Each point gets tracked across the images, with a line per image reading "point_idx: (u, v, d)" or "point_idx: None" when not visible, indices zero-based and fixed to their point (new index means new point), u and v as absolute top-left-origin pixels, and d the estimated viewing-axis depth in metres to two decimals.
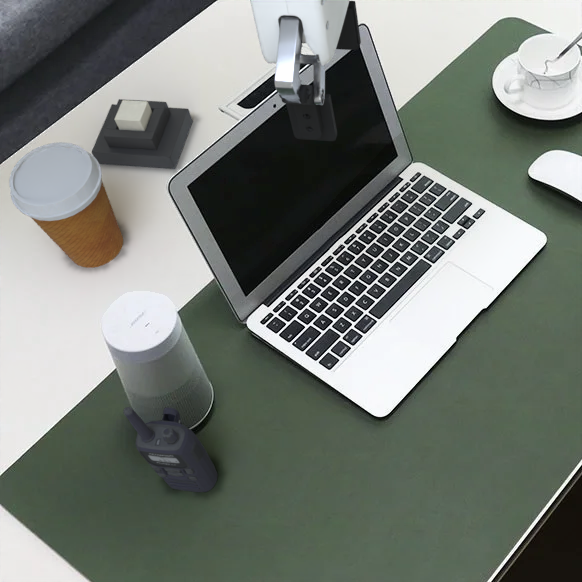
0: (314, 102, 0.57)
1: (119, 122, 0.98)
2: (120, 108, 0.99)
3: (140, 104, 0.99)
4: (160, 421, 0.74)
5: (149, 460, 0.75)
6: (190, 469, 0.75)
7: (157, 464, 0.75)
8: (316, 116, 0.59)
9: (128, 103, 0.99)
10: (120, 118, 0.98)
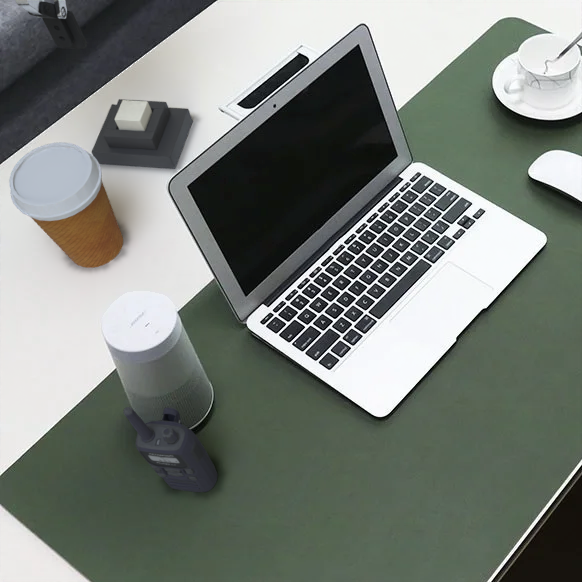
0: (57, 16, 0.80)
1: (119, 122, 0.98)
2: (120, 108, 0.99)
3: (140, 104, 0.99)
4: (160, 421, 0.74)
5: (149, 460, 0.75)
6: (190, 469, 0.75)
7: (157, 464, 0.75)
8: (63, 28, 0.82)
9: (128, 103, 0.99)
10: (120, 118, 0.98)
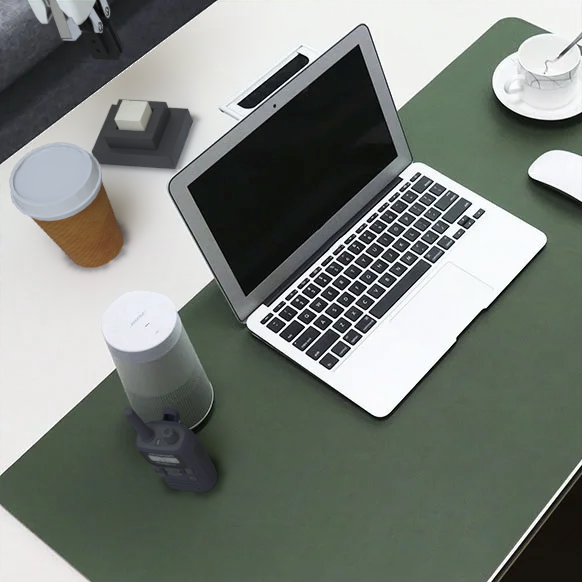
0: (94, 30, 0.87)
1: (119, 122, 0.98)
2: (120, 108, 0.99)
3: (140, 104, 0.99)
4: (160, 421, 0.74)
5: (149, 460, 0.75)
6: (190, 469, 0.75)
7: (157, 464, 0.75)
8: (99, 41, 0.88)
9: (128, 103, 0.99)
10: (120, 118, 0.98)
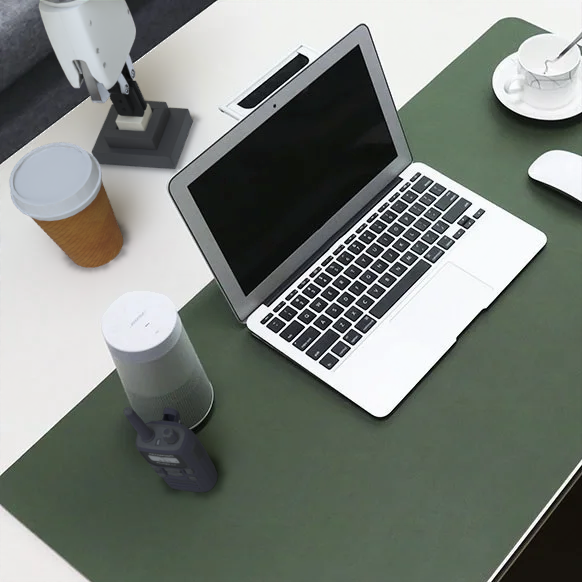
0: (121, 92, 0.94)
1: (120, 124, 0.98)
2: None
3: None
4: (160, 421, 0.74)
5: (149, 460, 0.75)
6: (190, 469, 0.75)
7: (157, 464, 0.75)
8: (125, 101, 0.95)
9: None
10: (121, 120, 0.98)
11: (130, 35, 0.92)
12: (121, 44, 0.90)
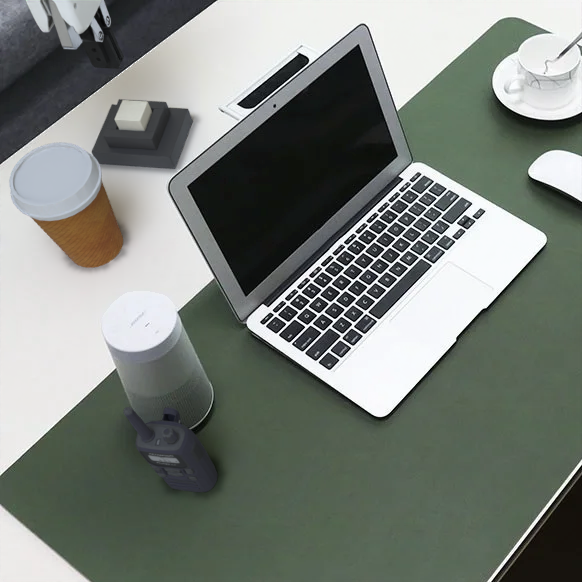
0: (95, 39, 0.87)
1: (119, 122, 0.98)
2: (120, 108, 0.99)
3: (140, 104, 0.99)
4: (160, 421, 0.74)
5: (149, 460, 0.75)
6: (190, 469, 0.75)
7: (157, 464, 0.75)
8: (100, 50, 0.89)
9: (128, 103, 0.99)
10: (120, 118, 0.98)
11: None
12: None
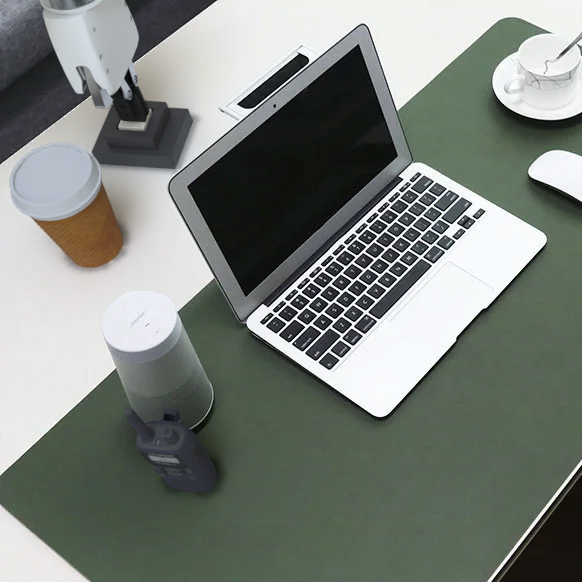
0: (124, 98, 0.95)
1: (123, 129, 0.99)
2: None
3: None
4: (160, 421, 0.74)
5: (149, 460, 0.75)
6: (190, 469, 0.75)
7: (157, 464, 0.75)
8: (128, 106, 0.96)
9: None
10: (124, 125, 0.99)
11: (132, 41, 0.93)
12: (124, 50, 0.91)
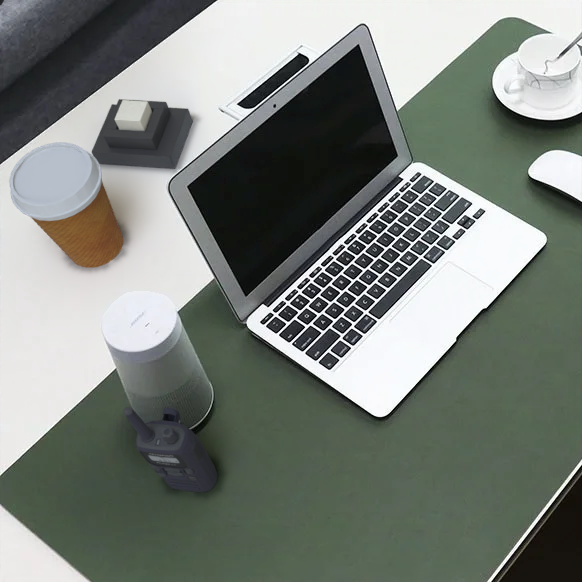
0: None
1: (119, 122, 0.98)
2: (120, 108, 0.99)
3: (140, 104, 0.99)
4: (160, 421, 0.74)
5: (149, 460, 0.75)
6: (190, 468, 0.75)
7: (157, 464, 0.75)
8: None
9: (128, 103, 0.99)
10: (120, 118, 0.98)
11: None
12: None
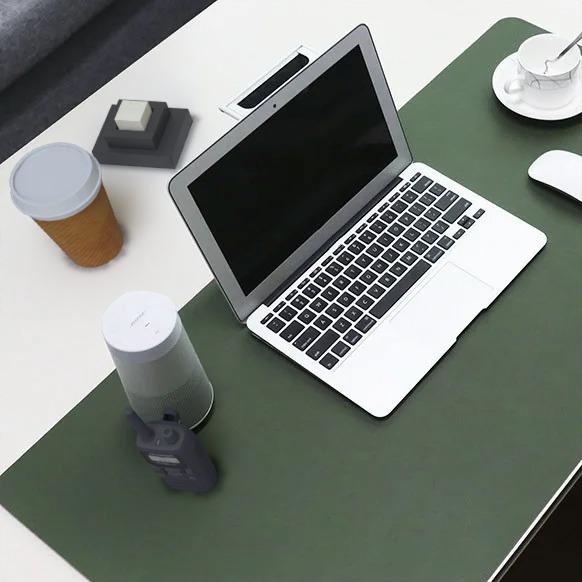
0: None
1: (119, 122, 0.98)
2: (120, 108, 0.99)
3: (140, 104, 0.99)
4: (160, 421, 0.74)
5: (149, 460, 0.75)
6: (190, 468, 0.75)
7: (157, 464, 0.75)
8: None
9: (128, 103, 0.99)
10: (120, 118, 0.98)
11: None
12: None
